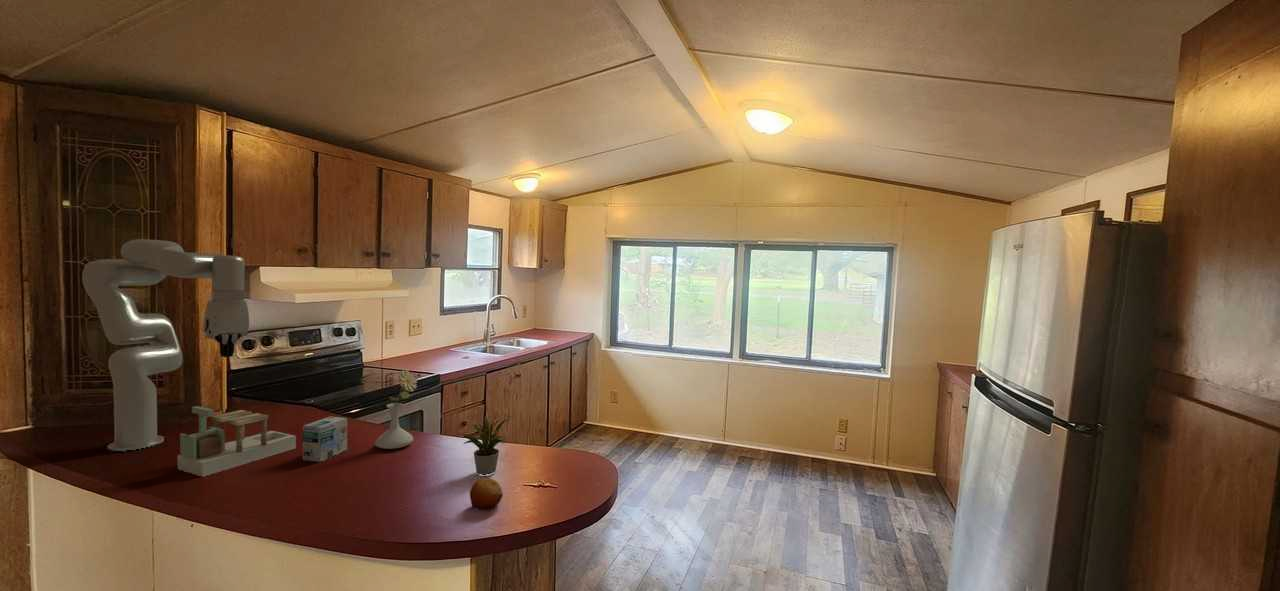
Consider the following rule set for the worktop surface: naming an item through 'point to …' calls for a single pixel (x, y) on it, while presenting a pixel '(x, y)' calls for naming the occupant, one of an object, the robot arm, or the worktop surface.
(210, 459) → the white rectangular tray
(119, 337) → the robot arm
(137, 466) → the worktop surface
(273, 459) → the worktop surface
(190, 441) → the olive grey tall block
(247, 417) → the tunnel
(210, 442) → the block
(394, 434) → the flower in vase
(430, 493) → the worktop surface
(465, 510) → the worktop surface
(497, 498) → the fruit
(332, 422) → the light bulb box
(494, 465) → the house plant
